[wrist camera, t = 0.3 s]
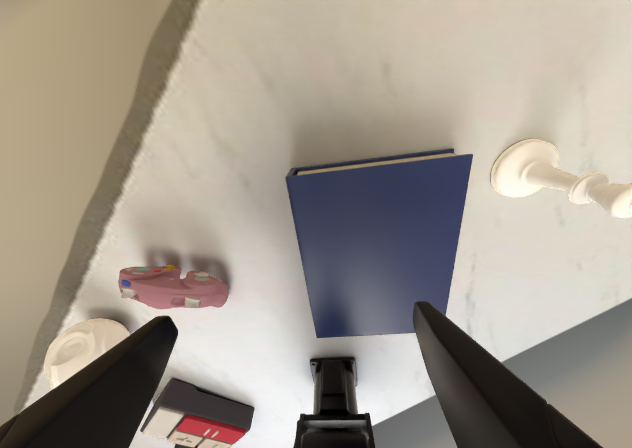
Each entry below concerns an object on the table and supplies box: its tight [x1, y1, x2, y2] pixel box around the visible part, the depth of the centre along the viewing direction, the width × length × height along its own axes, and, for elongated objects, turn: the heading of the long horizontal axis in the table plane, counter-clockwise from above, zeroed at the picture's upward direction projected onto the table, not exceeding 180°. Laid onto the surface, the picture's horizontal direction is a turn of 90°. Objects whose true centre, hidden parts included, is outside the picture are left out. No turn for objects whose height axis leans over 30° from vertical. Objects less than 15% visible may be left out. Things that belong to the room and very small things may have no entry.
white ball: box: [44, 318, 130, 389], centre depth 28 cm, size 8×8×8 cm
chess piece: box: [491, 139, 632, 218], centre depth 15 cm, size 5×5×10 cm
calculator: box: [140, 379, 254, 448], centre depth 38 cm, size 11×4×15 cm
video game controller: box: [119, 265, 229, 309], centre depth 24 cm, size 10×5×7 cm, turn 81°
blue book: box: [286, 149, 473, 338], centre depth 22 cm, size 19×14×3 cm
